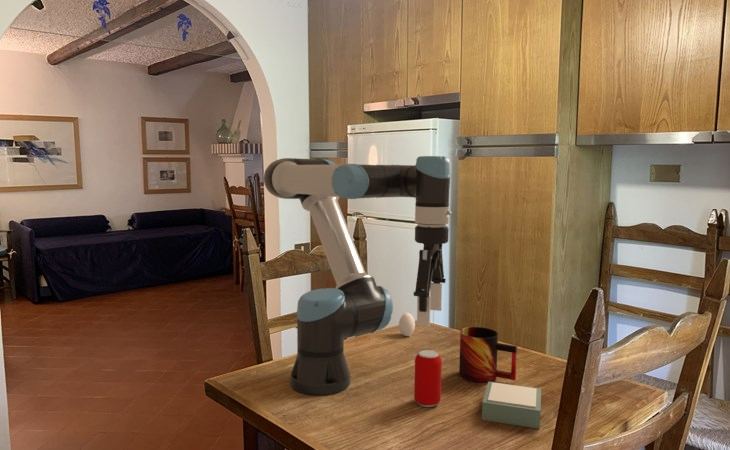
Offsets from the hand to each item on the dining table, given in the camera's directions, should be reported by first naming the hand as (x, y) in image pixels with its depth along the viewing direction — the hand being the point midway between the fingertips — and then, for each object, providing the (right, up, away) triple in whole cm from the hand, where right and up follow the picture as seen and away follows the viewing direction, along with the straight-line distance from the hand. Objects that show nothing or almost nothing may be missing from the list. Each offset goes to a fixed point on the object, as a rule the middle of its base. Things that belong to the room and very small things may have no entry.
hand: (429, 317), depth 121 cm
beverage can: (0, -21, +2) cm, 21 cm away
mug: (+17, -19, +18) cm, 32 cm away
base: (+18, -21, -2) cm, 28 cm away
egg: (-1, -15, +52) cm, 54 cm away
